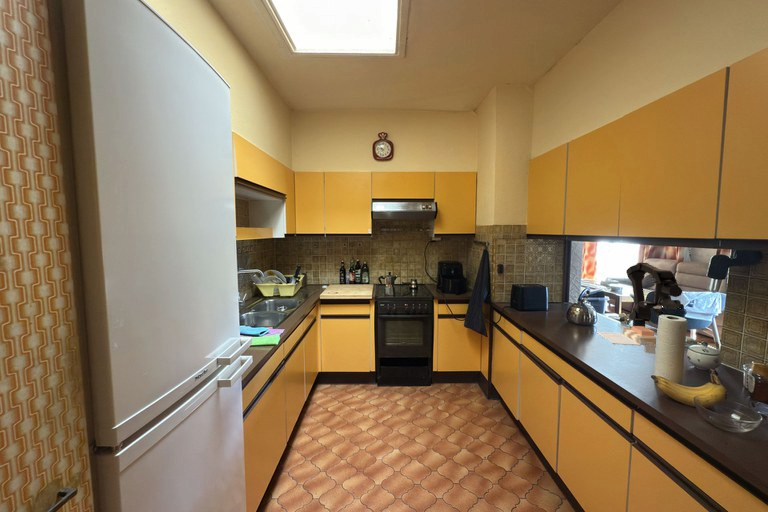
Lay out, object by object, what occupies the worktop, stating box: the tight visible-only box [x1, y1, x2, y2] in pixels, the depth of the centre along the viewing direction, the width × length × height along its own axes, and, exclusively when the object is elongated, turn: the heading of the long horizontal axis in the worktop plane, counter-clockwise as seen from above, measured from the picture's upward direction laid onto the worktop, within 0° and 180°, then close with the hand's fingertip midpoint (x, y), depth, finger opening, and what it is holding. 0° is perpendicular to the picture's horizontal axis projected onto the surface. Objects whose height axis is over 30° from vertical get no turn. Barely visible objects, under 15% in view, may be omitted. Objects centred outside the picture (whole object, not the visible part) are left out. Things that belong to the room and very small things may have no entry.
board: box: [622, 327, 657, 346], centre depth 169 cm, size 16×9×4 cm, turn 169°
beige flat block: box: [638, 336, 657, 354], centre depth 152 cm, size 7×2×8 cm, turn 67°
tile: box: [631, 325, 655, 336], centre depth 168 cm, size 9×6×2 cm, turn 169°
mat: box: [596, 331, 641, 346], centre depth 171 cm, size 18×13×1 cm
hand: (659, 320), depth 166 cm, fingers closed
